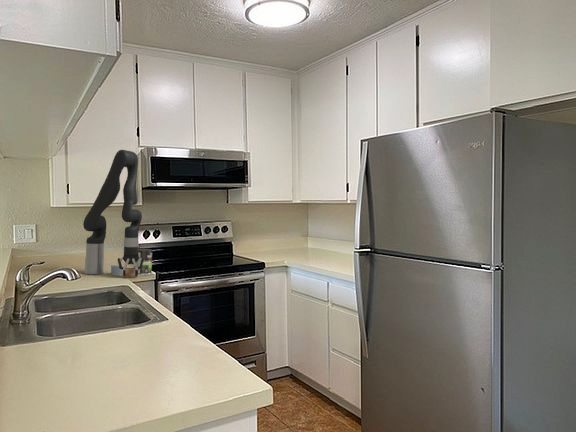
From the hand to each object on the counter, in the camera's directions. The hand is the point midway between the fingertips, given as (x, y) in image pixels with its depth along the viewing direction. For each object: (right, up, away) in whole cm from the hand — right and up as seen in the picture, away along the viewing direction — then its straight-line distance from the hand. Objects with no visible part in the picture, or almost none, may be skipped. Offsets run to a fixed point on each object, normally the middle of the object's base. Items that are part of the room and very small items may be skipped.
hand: (130, 276), depth 235 cm
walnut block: (0, 0, 0) cm, 0 cm away
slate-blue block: (-12, 0, +10) cm, 15 cm away
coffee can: (+2, 0, +14) cm, 14 cm away
